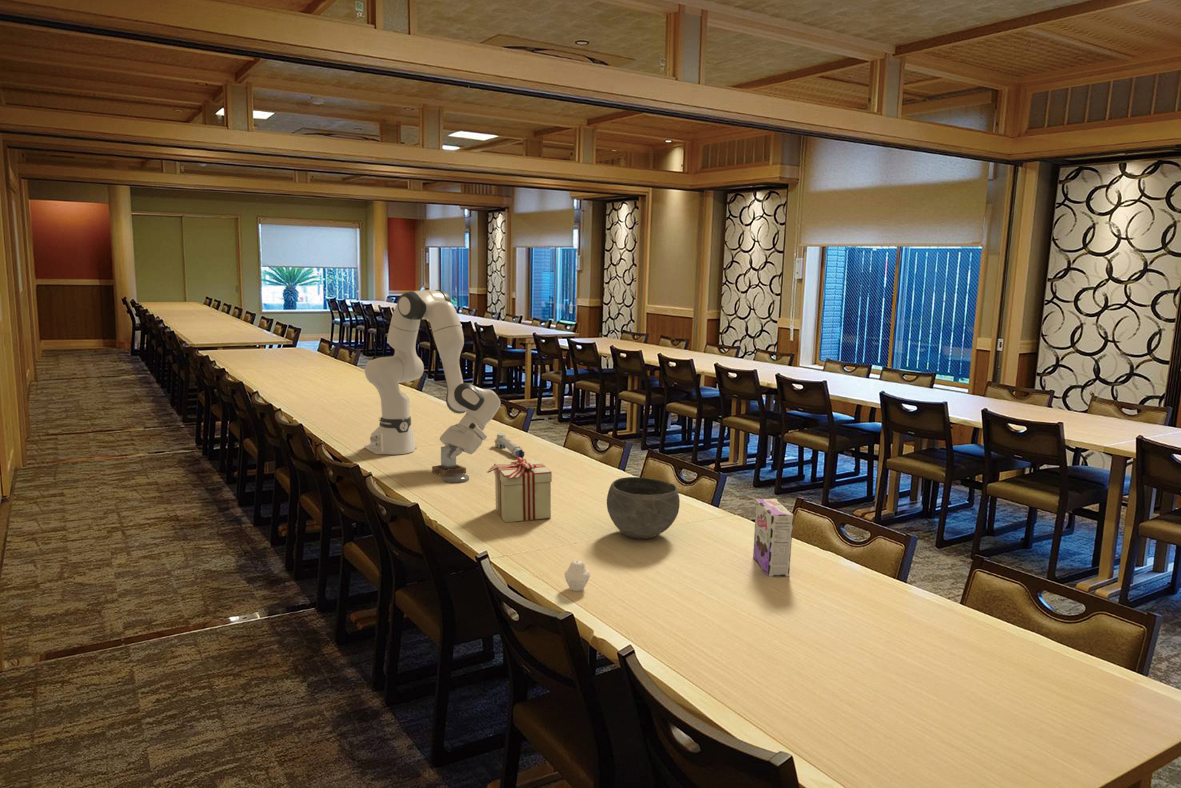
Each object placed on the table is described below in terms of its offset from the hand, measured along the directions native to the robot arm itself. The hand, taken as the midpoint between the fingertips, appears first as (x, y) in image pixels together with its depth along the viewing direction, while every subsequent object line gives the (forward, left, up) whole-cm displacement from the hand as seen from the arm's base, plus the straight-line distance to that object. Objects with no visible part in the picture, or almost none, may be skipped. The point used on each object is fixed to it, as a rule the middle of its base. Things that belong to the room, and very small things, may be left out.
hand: (447, 456), depth 294 cm
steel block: (0, +1, -4) cm, 4 cm away
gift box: (+56, -13, -6) cm, 58 cm away
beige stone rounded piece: (+109, -40, -6) cm, 117 cm away
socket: (0, +1, -6) cm, 6 cm away
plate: (+10, -3, -6) cm, 12 cm away
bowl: (+94, +1, -6) cm, 95 cm away
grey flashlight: (-11, +39, -6) cm, 41 cm away
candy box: (+133, +7, -6) cm, 134 cm away
